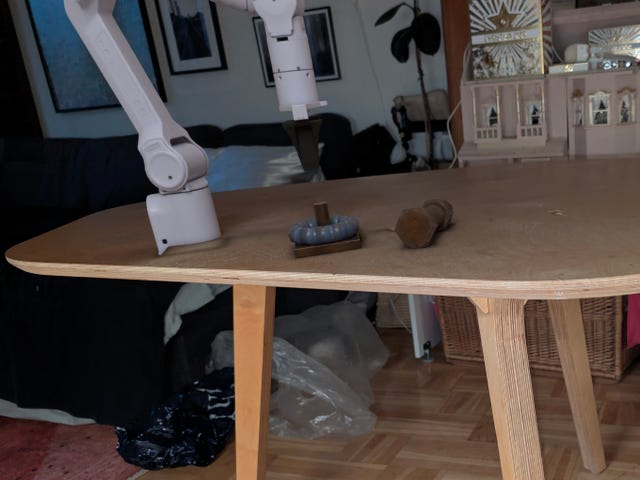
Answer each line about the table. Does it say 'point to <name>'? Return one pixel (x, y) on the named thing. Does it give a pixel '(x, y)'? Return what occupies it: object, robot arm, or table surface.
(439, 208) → the bolt
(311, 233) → the ring
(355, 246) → the stand
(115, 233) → the table surface
